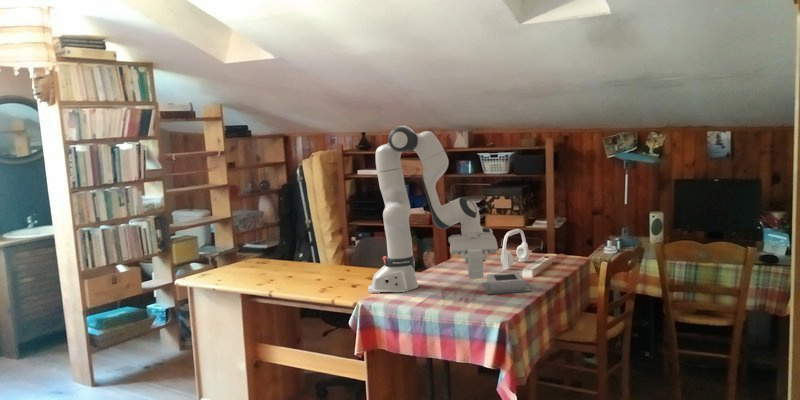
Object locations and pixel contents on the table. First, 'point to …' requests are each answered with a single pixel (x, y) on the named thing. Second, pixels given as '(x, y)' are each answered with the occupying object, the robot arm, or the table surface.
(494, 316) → the table surface
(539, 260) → the table surface
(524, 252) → the headset
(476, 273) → the skincare box
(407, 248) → the robot arm
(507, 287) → the grey square stand
